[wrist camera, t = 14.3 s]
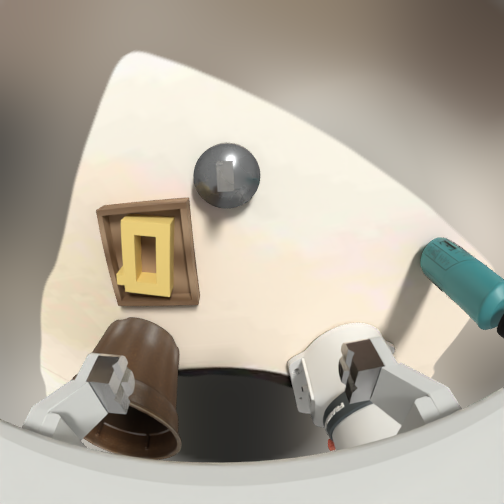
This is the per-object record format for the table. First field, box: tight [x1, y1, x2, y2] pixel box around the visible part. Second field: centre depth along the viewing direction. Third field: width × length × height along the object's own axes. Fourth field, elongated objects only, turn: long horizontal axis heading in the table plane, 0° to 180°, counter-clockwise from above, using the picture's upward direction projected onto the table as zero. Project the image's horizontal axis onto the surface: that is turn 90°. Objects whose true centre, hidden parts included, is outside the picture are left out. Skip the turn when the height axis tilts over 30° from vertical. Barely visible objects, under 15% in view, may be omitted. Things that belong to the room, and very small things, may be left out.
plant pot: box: [72, 318, 182, 460], centre depth 34 cm, size 16×16×16 cm
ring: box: [116, 214, 175, 297], centre depth 33 cm, size 7×9×3 cm
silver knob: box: [194, 143, 260, 208], centre depth 29 cm, size 7×7×6 cm
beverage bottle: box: [421, 238, 504, 338], centre depth 28 cm, size 6×7×20 cm
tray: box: [96, 198, 200, 306], centre depth 34 cm, size 13×11×2 cm
